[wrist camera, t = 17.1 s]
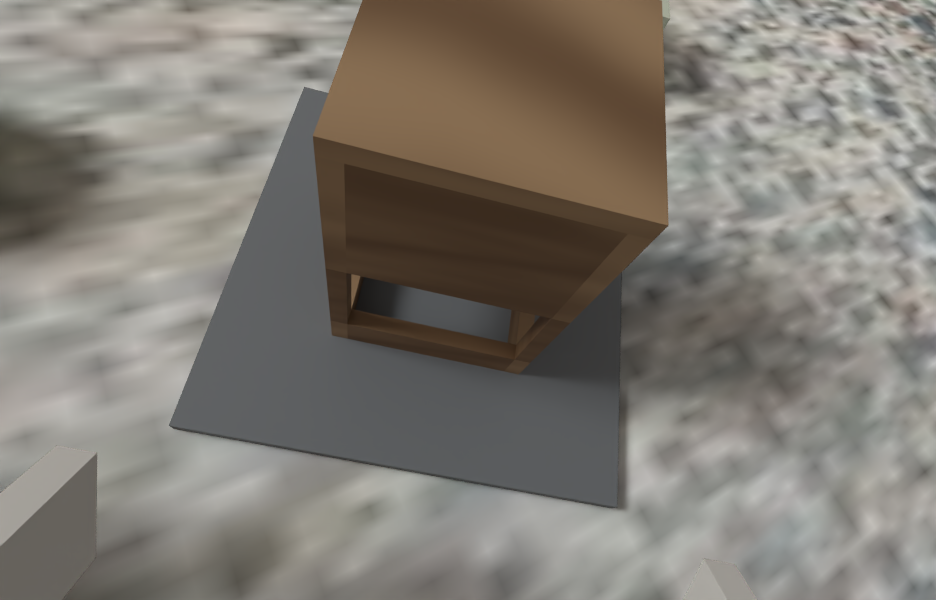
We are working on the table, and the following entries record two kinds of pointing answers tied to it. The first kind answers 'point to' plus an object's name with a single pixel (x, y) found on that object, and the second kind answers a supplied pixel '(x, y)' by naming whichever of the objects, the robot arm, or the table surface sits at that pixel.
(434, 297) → the mat
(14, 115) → the table surface
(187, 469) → the table surface
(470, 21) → the wooden nightstand
